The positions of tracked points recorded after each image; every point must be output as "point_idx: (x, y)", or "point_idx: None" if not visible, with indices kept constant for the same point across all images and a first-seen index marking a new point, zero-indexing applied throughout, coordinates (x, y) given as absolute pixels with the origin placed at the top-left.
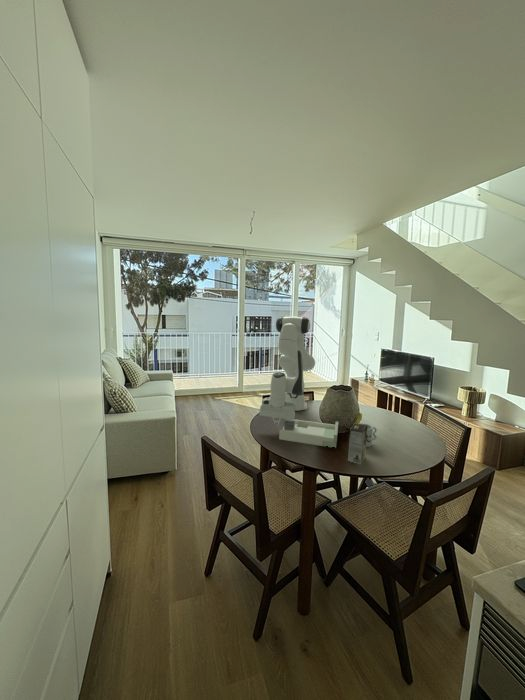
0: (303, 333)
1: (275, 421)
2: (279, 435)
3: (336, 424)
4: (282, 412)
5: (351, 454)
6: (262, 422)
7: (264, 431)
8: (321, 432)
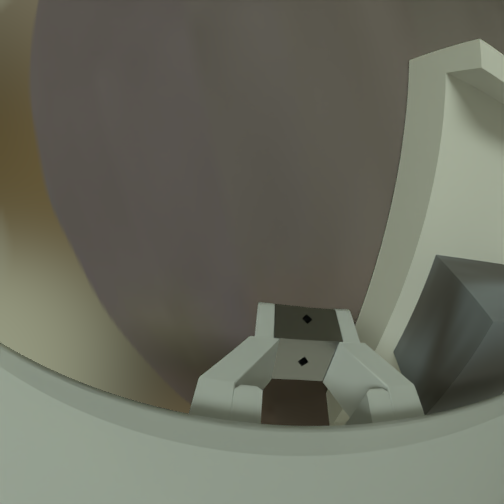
0: None
1: (276, 361)
2: (330, 418)
3: None
4: None
5: None
6: (75, 44)
7: (163, 290)
8: None
